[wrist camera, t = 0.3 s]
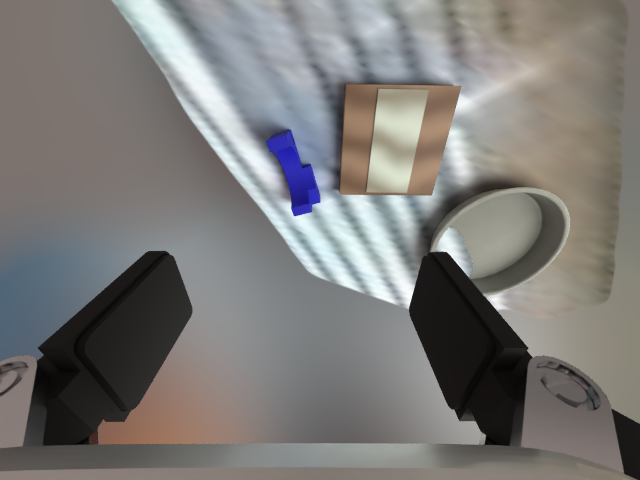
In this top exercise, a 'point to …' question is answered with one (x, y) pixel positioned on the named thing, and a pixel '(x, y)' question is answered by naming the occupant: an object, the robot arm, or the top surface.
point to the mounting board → (394, 137)
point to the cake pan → (508, 235)
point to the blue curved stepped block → (295, 173)
